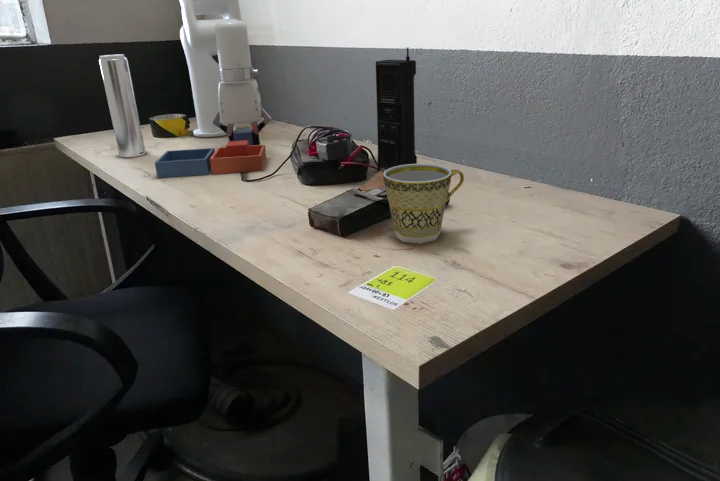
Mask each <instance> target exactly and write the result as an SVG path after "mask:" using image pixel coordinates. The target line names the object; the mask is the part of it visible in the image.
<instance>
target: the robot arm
mask: <svg viewBox="0 0 720 481" xmlns="http://www.w3.org/2000/svg"><path fill="white" fill-rule="evenodd" d="M179 3H180V7H181V17H182V18H181V19H182V22H183V24H182V25H181V27H180V30H179V37H180V38H179V39H180V42H181V45H182V49H183V51H184V55H185V59H186V64H187V67H188V73H189V79H190V85H191V92H192V99H193V105H194V111H195V117H196V123H197V128H195V129H194V130H193V136H194V137H198V138H215V137H223V136H228V142H229V141H234V138H233V133H234V131H235V129H237V127H236V126H235V124H250V126H251V129H253V135H252V136H253V145H261V141H260V132H261V131H262V130H263V129H264V127H266V126H267V125H268V124H269V123H270V122H271V121H272V117H271V116H270V115H269V114H268V112H266V110H265V109H264V108H263V105H262V98H261V94H260V88H259V84H258V82H257V79H254V77H255V76H259V70H258V69H255V68H254V67H253V66H252V58H251V50H250V41H249V33H248V26H247V24H246V22H244V21H243V20H242V15H241V14H242V12H241V6H240V2H239V0H179ZM203 15H221V17H222V18H215V19H211V18H208V19H197V17H196V16H203ZM214 56H217V59H218V62H217V61H216V60H215V59H214V58H213V57H214ZM262 118H263V120H262ZM261 120H262V121H261ZM258 122H259V123H258Z"/></svg>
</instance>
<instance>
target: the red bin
mask: <svg viewBox="0 0 720 481" xmlns="http://www.w3.org/2000/svg"><path fill="white" fill-rule="evenodd" d="M249 148H250V156H239V157H227V150H226V146H223V147H221V146H220V147H217V148H216V149H215V152H214V154H213V155H212V157H211V158H210V163H211V174H212V175H221V174H236V173H238V174H239V173H251V172H263V171H264V168H265V165H266V161H267V152H266V144H260V145H251V146H249Z"/></svg>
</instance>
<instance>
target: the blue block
mask: <svg viewBox="0 0 720 481" xmlns="http://www.w3.org/2000/svg"><path fill="white" fill-rule="evenodd" d="M252 135H253V129H252V128H238V129H237V128H236V129H235V131H234V133H233V138H234V141H244V140H249V146H251V145H253V136H252Z"/></svg>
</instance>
